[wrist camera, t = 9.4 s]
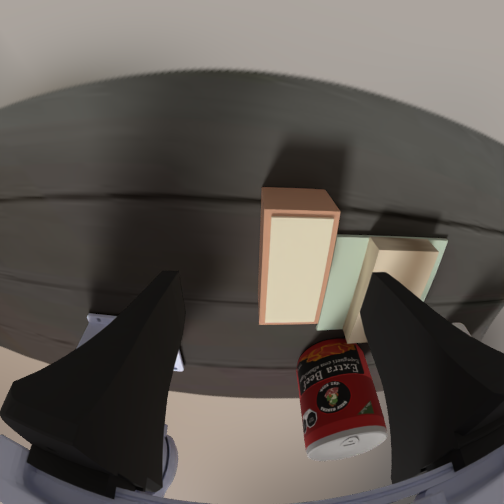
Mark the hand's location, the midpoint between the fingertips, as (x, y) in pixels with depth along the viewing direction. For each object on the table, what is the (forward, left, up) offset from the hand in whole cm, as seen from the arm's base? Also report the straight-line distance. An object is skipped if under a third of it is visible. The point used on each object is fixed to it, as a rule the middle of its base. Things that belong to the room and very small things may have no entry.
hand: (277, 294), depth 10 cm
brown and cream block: (+2, -4, -10) cm, 11 cm away
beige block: (+11, -8, -10) cm, 17 cm away
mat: (+11, -8, -10) cm, 17 cm away
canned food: (+8, -18, -11) cm, 23 cm away
